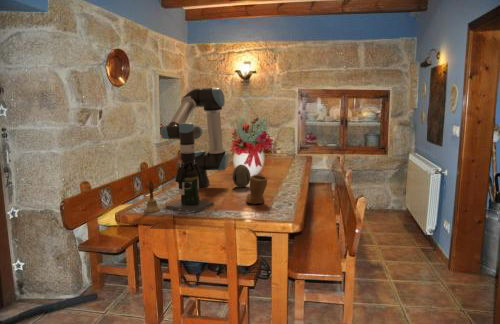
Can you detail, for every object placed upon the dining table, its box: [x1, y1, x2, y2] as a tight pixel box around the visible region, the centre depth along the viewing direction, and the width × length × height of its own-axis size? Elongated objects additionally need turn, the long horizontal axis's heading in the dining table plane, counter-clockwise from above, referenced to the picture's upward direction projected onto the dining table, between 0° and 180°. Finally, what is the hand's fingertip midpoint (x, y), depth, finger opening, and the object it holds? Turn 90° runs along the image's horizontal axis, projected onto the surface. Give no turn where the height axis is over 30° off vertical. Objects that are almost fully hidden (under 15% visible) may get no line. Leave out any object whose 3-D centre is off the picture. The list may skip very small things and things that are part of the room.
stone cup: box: [245, 174, 268, 205], centre depth 213 cm, size 15×12×15 cm
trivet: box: [165, 199, 214, 213], centre depth 206 cm, size 20×16×2 cm
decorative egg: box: [232, 164, 252, 188], centre depth 249 cm, size 12×12×15 cm
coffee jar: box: [180, 170, 200, 205], centre depth 205 cm, size 10×8×19 cm
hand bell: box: [143, 179, 161, 213], centre depth 199 cm, size 8×8×16 cm
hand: (189, 191), depth 205 cm, fingers open, 12 cm apart
